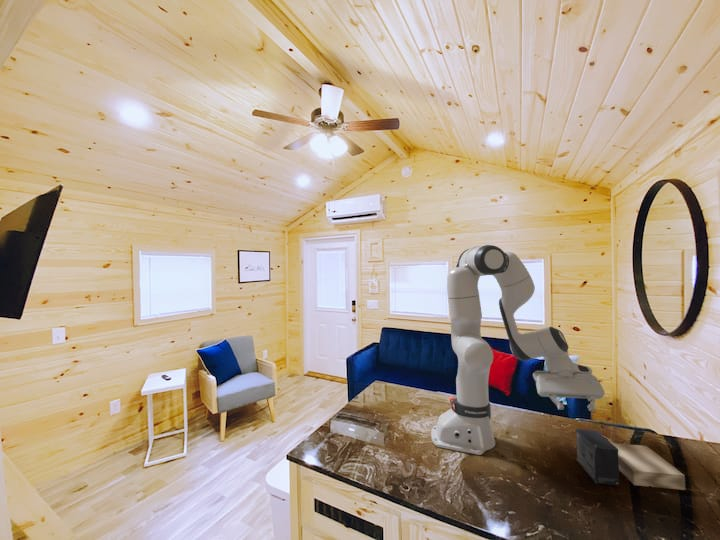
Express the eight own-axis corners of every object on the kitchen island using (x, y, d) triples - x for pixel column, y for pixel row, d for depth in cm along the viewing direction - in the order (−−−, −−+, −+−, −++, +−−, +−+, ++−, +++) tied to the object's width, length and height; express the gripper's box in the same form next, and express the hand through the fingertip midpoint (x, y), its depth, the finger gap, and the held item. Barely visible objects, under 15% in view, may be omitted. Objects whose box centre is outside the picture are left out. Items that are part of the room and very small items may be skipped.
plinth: (634, 485, 83) (633, 470, 83) (604, 454, 96) (603, 442, 96) (685, 490, 80) (684, 475, 80) (646, 458, 94) (646, 445, 94)
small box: (622, 487, 82) (620, 449, 82) (595, 484, 83) (593, 447, 84) (599, 463, 92) (597, 429, 93) (576, 461, 94) (574, 428, 94)
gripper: (533, 366, 108) (545, 404, 99) (596, 368, 104) (615, 407, 95) (529, 374, 113) (540, 411, 103) (589, 376, 109) (607, 415, 99)
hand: (576, 409), depth 99 cm, fingers open, 8 cm apart
